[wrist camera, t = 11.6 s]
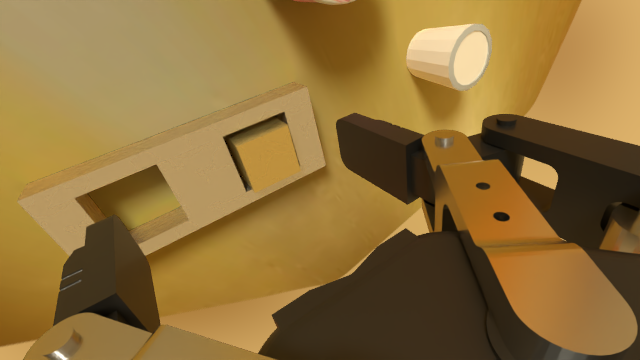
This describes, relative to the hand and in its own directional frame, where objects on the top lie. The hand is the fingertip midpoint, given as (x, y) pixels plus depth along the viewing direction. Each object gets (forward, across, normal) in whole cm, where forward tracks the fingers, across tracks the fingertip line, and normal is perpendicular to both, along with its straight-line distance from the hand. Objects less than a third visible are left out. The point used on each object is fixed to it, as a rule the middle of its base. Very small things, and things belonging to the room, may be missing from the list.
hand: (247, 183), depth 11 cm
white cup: (+20, -30, +5) cm, 36 cm away
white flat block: (+20, 0, +8) cm, 22 cm away
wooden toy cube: (+20, -6, +8) cm, 22 cm away
